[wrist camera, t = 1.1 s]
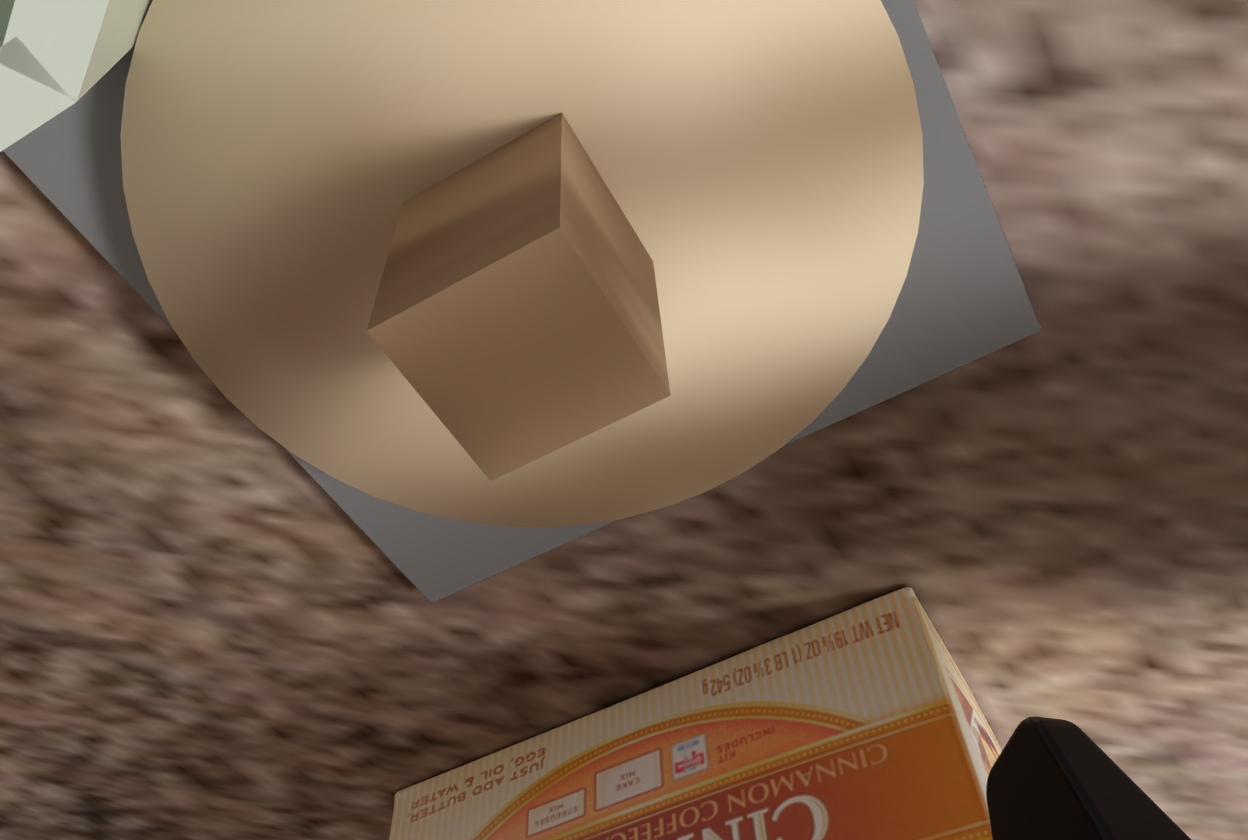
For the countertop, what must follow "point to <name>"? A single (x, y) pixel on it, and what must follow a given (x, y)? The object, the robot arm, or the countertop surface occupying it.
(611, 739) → the coffeecake box
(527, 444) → the lid
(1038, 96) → the countertop surface
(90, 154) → the plate
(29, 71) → the bowl
